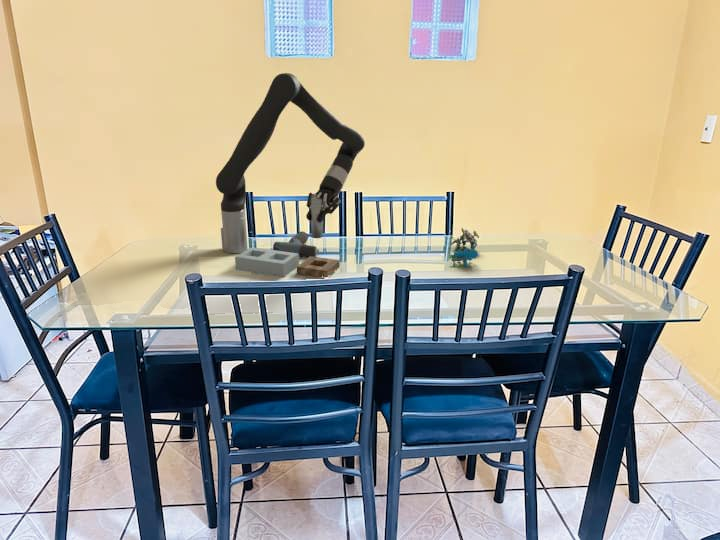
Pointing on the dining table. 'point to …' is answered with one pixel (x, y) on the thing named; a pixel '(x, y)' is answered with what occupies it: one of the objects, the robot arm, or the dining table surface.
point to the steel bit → (315, 210)
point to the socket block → (318, 267)
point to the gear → (463, 256)
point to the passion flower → (466, 239)
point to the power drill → (297, 246)
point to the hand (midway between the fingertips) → (313, 220)
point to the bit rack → (267, 261)
